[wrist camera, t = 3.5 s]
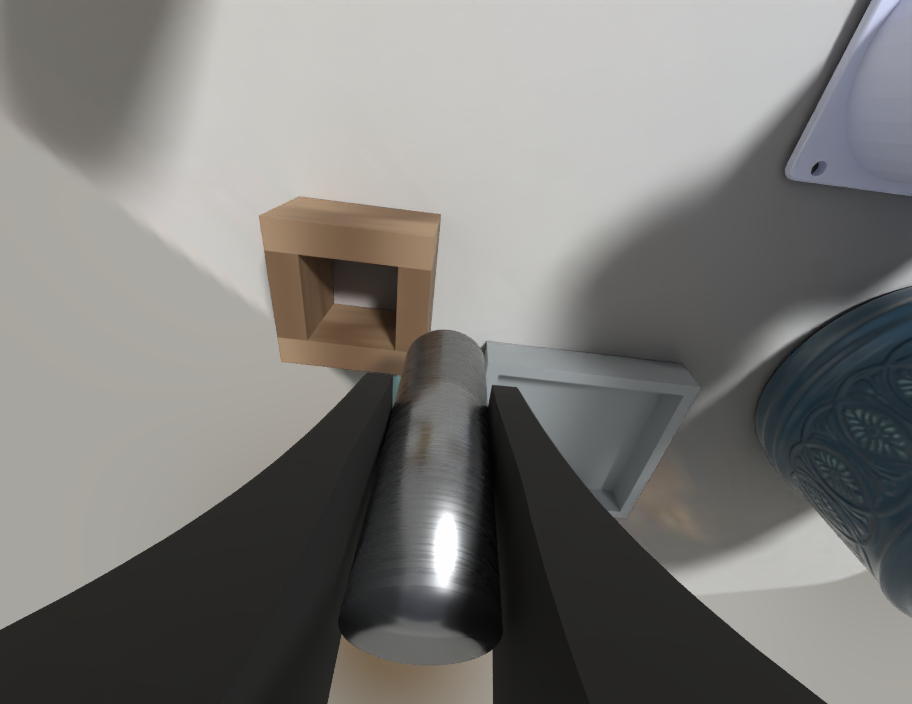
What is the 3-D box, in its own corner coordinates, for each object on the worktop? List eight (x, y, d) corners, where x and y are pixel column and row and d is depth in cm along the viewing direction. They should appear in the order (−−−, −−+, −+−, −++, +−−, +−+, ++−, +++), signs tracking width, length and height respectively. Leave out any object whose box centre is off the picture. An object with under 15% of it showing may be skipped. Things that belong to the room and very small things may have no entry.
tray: (681, 363, 20) (701, 387, 18) (616, 491, 25) (626, 519, 23) (486, 341, 19) (488, 362, 18) (462, 475, 25) (461, 502, 23)
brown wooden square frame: (440, 214, 16) (434, 237, 13) (430, 336, 19) (422, 377, 16) (299, 196, 16) (258, 215, 13) (311, 322, 19) (281, 361, 16)
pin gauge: (495, 340, 11) (526, 603, 5) (472, 403, 12) (477, 674, 6) (413, 321, 11) (346, 575, 5) (399, 386, 12) (331, 652, 6)
